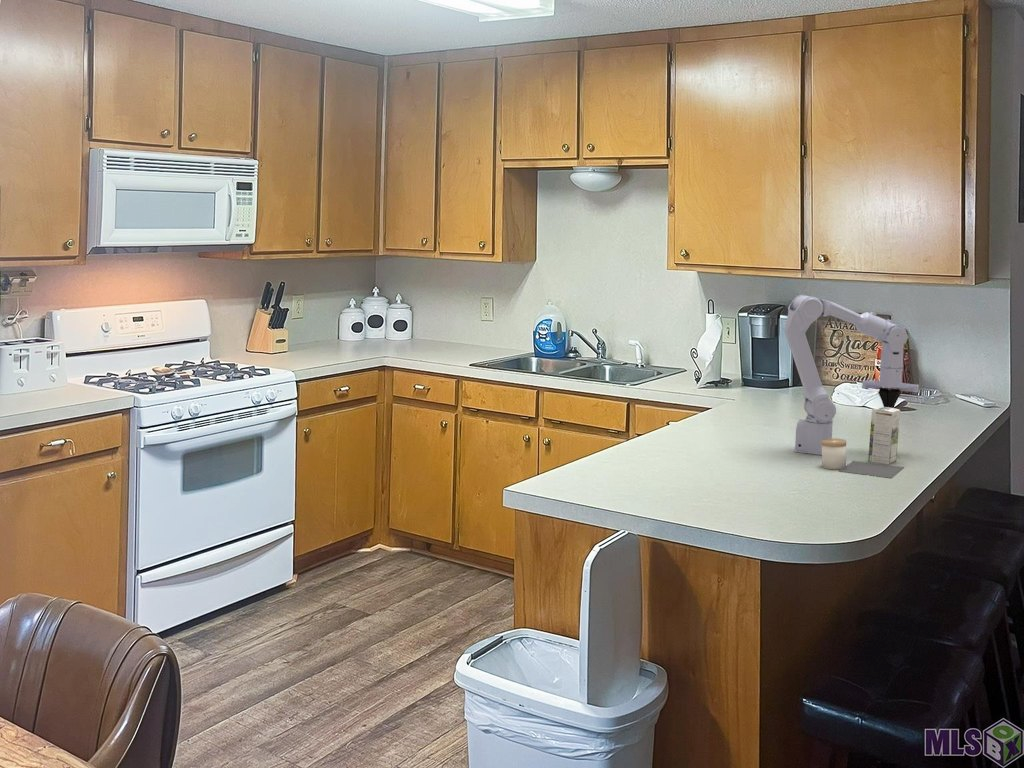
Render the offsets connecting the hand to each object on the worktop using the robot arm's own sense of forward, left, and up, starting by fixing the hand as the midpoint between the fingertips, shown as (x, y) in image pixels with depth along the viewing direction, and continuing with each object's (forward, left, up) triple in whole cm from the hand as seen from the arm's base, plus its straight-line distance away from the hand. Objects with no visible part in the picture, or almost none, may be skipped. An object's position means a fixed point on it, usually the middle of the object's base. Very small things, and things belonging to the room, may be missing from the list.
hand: (888, 415), depth 275 cm
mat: (+2, -24, -10) cm, 26 cm away
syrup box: (+2, -13, -11) cm, 17 cm away
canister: (-7, -27, -10) cm, 29 cm away
